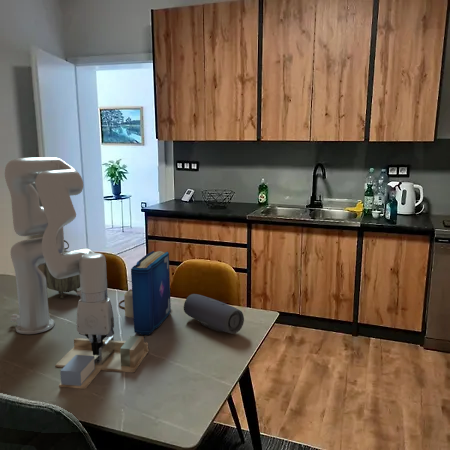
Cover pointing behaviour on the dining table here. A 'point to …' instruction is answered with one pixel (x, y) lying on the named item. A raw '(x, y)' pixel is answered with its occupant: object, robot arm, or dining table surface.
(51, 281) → the tabletop clock
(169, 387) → the dining table surface
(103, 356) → the bookend
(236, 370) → the dining table surface
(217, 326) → the bluetooth speaker
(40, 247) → the robot arm
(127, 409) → the dining table surface
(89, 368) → the blue-grey rectangular block
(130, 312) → the candle
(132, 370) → the wooden platform
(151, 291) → the blue volume
